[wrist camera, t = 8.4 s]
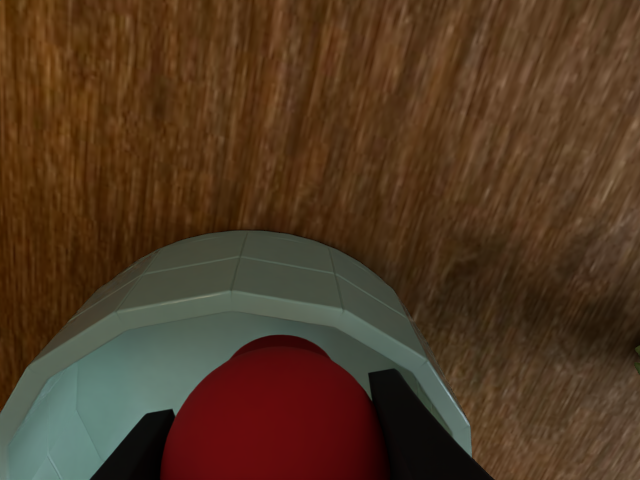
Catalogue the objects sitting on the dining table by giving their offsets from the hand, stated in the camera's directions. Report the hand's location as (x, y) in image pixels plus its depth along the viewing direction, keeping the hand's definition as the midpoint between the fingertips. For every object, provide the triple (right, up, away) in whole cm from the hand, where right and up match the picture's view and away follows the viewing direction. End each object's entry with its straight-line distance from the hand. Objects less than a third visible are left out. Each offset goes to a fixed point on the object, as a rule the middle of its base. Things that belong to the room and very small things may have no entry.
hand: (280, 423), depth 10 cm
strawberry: (0, +1, +1) cm, 1 cm away
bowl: (-1, -1, +5) cm, 5 cm away
